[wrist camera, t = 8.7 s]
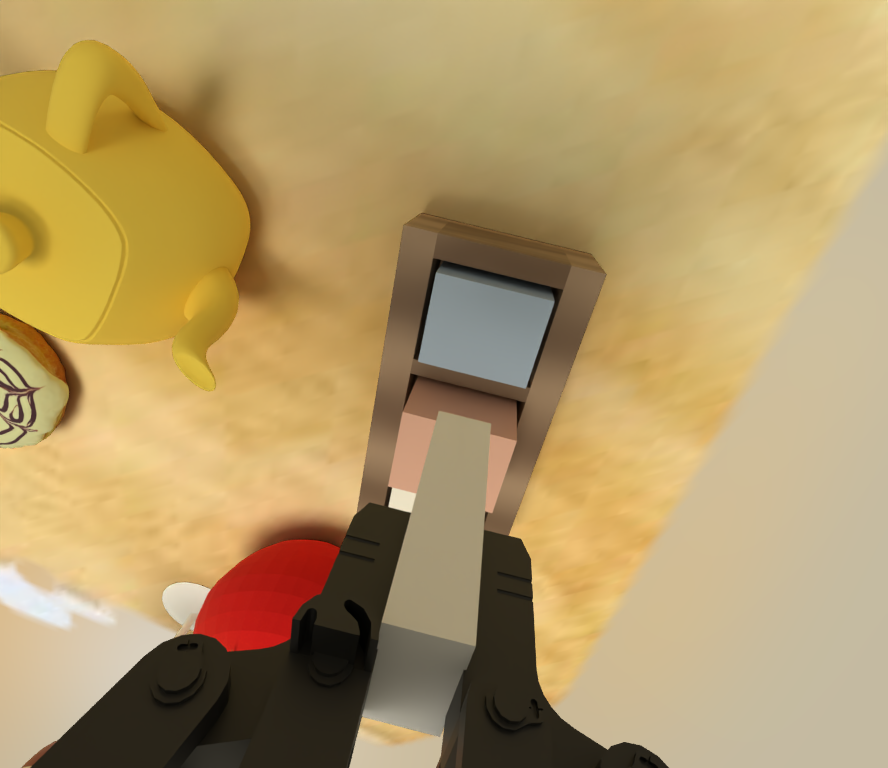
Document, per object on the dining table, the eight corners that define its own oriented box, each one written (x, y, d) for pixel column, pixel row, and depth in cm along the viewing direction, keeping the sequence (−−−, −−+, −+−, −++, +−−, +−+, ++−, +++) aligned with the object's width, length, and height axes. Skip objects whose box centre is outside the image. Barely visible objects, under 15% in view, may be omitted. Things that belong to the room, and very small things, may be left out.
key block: (421, 213, 27) (403, 224, 23) (591, 254, 27) (606, 274, 22) (372, 490, 37) (352, 536, 32) (496, 522, 36) (494, 573, 32)
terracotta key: (420, 370, 28) (402, 411, 23) (516, 394, 27) (516, 440, 23) (406, 436, 30) (387, 486, 25) (495, 459, 30) (492, 513, 25)
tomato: (415, 575, 40) (381, 718, 30) (319, 635, 46) (263, 774, 36) (305, 485, 37) (227, 610, 27) (217, 561, 43) (125, 688, 33)
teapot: (376, 208, 27) (301, 238, 18) (258, 385, 34) (156, 478, 24) (21, -85, 23) (-324, -252, 14) (-35, 180, 30) (-295, 193, 20)
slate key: (448, 252, 27) (436, 272, 22) (547, 276, 27) (554, 301, 22) (432, 329, 29) (418, 361, 24) (523, 352, 29) (525, 388, 24)
